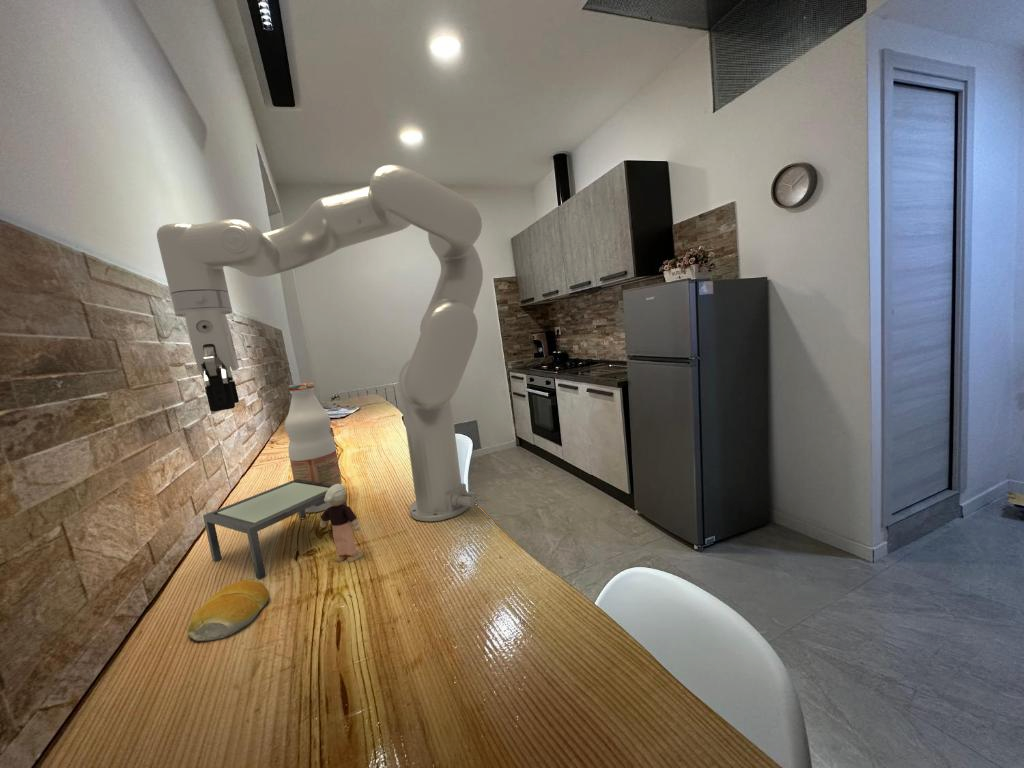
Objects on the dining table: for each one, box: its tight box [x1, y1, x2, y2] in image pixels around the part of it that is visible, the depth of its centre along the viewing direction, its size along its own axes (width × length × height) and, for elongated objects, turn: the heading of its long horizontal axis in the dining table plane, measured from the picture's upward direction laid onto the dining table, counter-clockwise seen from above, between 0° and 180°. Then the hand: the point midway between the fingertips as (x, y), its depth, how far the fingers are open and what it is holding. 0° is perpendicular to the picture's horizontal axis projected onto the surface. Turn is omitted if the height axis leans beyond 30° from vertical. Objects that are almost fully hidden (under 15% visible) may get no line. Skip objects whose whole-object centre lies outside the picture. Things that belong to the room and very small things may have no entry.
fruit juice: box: [284, 382, 343, 514], centre depth 87 cm, size 9×9×28 cm
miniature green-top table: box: [202, 479, 348, 580], centre depth 71 cm, size 15×17×8 cm
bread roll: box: [187, 579, 270, 642], centre depth 53 cm, size 8×9×4 cm
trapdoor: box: [217, 482, 329, 525], centre depth 71 cm, size 12×14×3 cm
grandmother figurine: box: [319, 483, 364, 563], centre depth 64 cm, size 8×4×13 cm, turn 84°
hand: (226, 406), depth 66 cm, fingers open, 9 cm apart
